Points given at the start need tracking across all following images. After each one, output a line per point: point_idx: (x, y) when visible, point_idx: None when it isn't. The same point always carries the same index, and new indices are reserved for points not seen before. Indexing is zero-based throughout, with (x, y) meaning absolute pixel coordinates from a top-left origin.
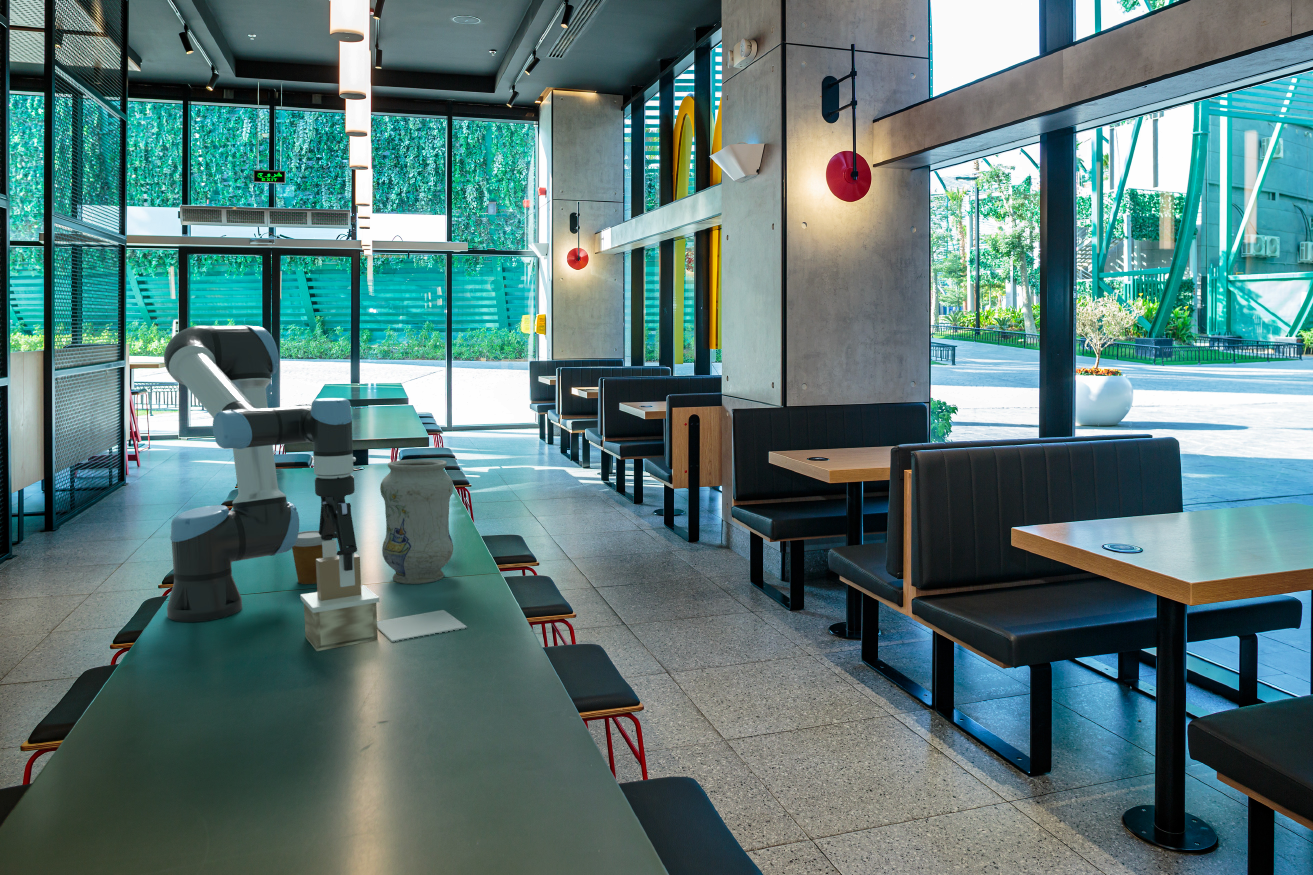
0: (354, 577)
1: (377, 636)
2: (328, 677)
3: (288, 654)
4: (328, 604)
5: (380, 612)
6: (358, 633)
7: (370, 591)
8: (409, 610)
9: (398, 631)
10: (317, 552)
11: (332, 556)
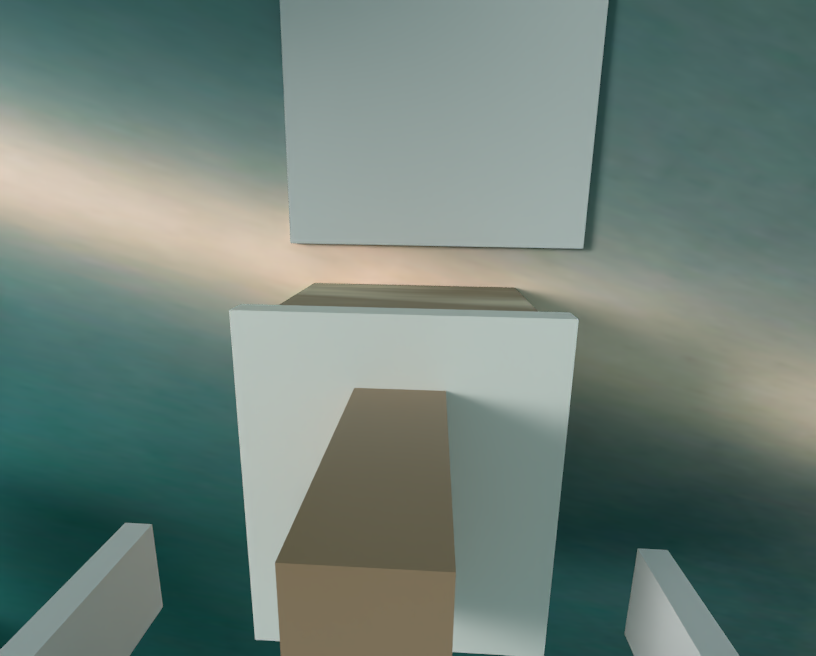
0: (696, 598)
1: (516, 290)
2: (783, 538)
3: None
4: (532, 586)
5: (142, 158)
6: None
7: (408, 323)
8: (172, 19)
9: (485, 184)
10: None
11: (76, 653)
